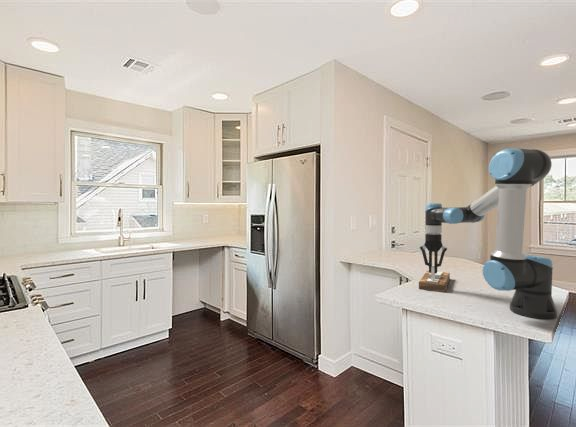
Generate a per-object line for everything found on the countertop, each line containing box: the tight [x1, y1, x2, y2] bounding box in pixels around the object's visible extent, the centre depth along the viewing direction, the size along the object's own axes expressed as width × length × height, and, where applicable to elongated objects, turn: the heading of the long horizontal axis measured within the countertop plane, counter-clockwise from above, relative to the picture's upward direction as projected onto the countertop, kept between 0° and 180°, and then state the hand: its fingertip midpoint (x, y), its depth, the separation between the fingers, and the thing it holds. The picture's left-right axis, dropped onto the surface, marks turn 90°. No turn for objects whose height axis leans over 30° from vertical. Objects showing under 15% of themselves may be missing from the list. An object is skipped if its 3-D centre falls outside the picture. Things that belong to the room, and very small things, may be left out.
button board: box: [418, 270, 451, 293], centre depth 174 cm, size 30×12×4 cm, turn 149°
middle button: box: [429, 273, 441, 279], centre depth 174 cm, size 5×5×3 cm
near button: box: [427, 278, 439, 283], centre depth 166 cm, size 5×5×3 cm
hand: (433, 279), depth 166 cm, fingers closed
